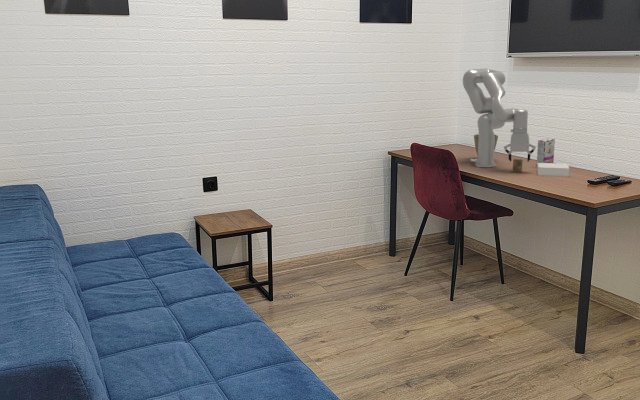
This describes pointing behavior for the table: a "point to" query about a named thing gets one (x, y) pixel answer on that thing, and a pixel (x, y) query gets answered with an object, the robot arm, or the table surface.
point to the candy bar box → (545, 151)
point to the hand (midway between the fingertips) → (519, 161)
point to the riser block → (552, 169)
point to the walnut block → (517, 165)
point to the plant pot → (476, 140)
